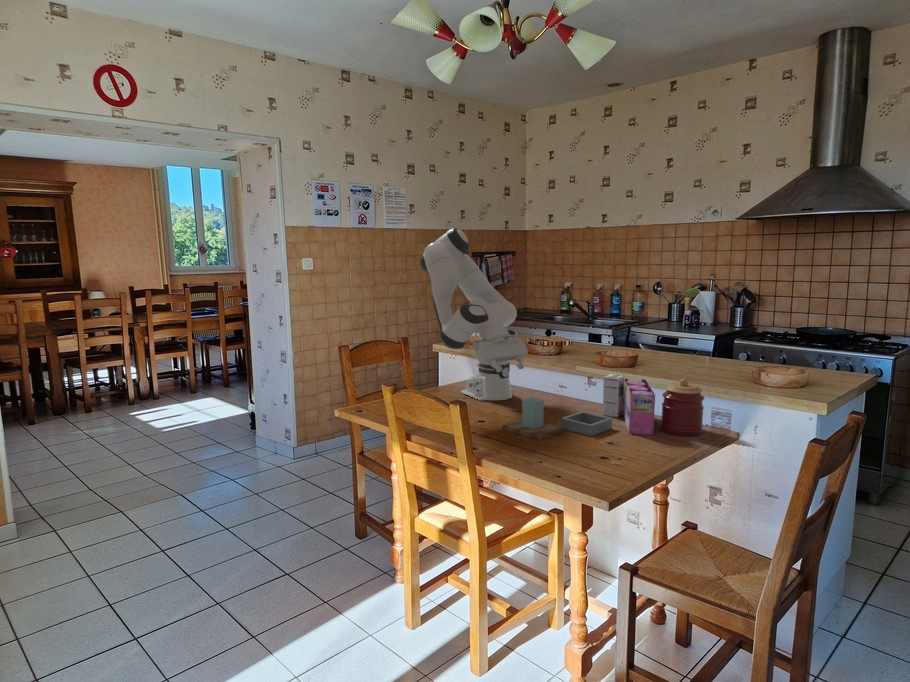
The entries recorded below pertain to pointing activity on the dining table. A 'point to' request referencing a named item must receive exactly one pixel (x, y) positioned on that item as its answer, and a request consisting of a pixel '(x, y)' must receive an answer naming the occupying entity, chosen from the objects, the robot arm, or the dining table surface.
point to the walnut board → (533, 430)
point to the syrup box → (613, 395)
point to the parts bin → (576, 424)
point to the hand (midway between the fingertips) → (511, 369)
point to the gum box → (639, 407)
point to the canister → (682, 409)
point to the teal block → (532, 413)
